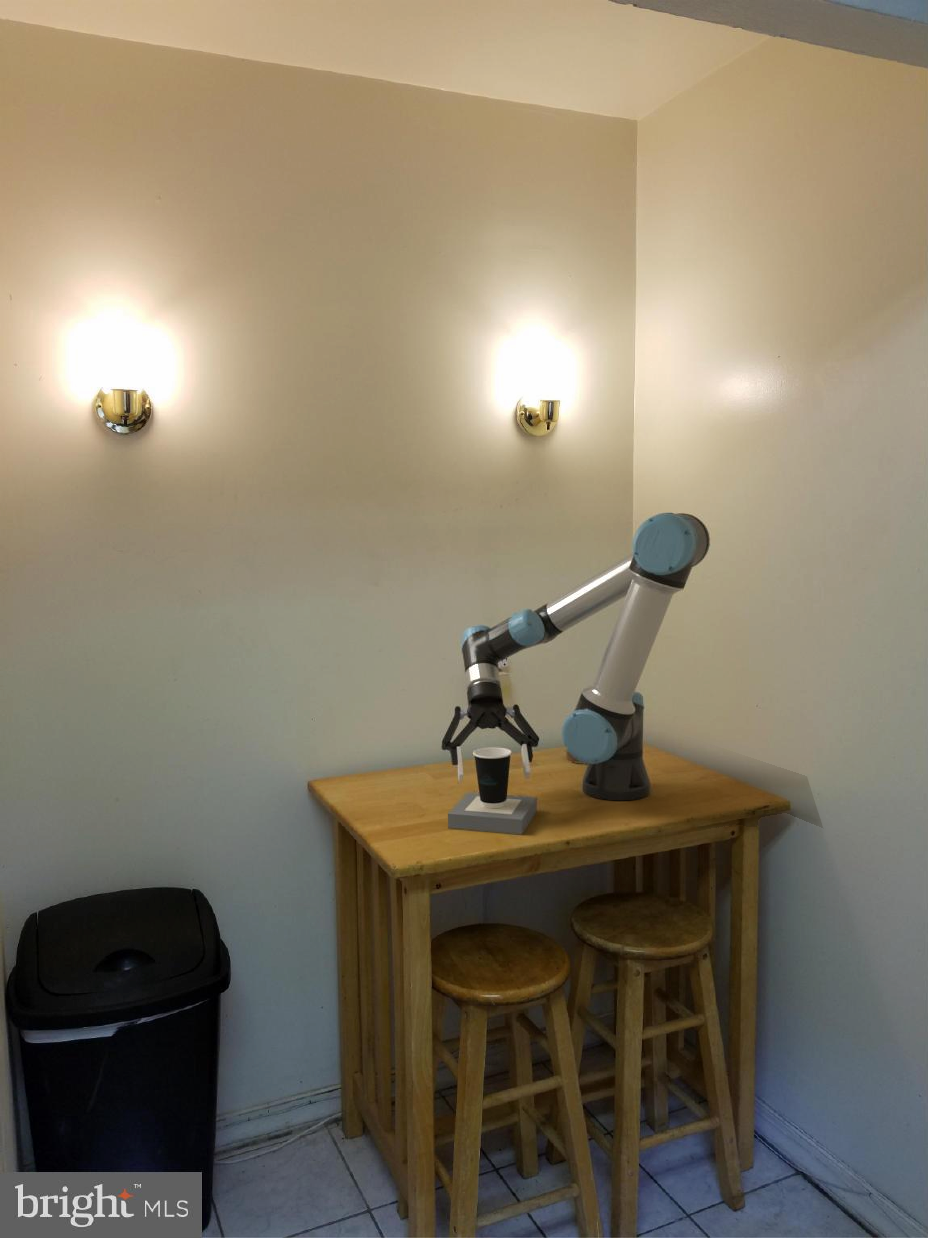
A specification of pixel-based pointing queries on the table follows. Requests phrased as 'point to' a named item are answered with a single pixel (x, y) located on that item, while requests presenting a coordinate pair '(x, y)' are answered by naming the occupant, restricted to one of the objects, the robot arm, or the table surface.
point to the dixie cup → (492, 775)
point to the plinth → (493, 814)
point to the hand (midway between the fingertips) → (494, 776)
